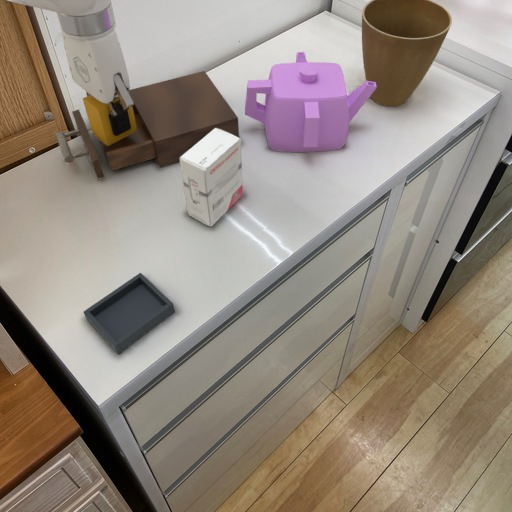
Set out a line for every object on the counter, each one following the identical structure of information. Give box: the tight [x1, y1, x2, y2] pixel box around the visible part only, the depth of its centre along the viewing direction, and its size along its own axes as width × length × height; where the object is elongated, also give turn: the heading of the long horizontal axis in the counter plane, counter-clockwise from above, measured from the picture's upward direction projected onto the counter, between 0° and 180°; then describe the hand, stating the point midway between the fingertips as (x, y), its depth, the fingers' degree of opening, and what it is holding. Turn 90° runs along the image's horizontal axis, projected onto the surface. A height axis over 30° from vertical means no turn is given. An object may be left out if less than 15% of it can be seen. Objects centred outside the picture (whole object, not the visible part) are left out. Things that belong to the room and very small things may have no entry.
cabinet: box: [129, 70, 240, 168], centre depth 94 cm, size 15×16×6 cm
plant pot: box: [361, 0, 453, 108], centre depth 96 cm, size 15×15×16 cm
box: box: [82, 91, 137, 146], centre depth 87 cm, size 6×4×7 cm
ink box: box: [179, 128, 243, 228], centre depth 79 cm, size 9×5×12 cm, turn 145°
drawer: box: [55, 105, 157, 180], centre depth 90 cm, size 17×14×4 cm
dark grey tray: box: [83, 272, 176, 355], centre depth 70 cm, size 9×7×2 cm
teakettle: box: [244, 51, 377, 153], centre depth 91 cm, size 17×17×12 cm
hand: (113, 123), depth 88 cm, fingers closed on box, 4 cm apart
